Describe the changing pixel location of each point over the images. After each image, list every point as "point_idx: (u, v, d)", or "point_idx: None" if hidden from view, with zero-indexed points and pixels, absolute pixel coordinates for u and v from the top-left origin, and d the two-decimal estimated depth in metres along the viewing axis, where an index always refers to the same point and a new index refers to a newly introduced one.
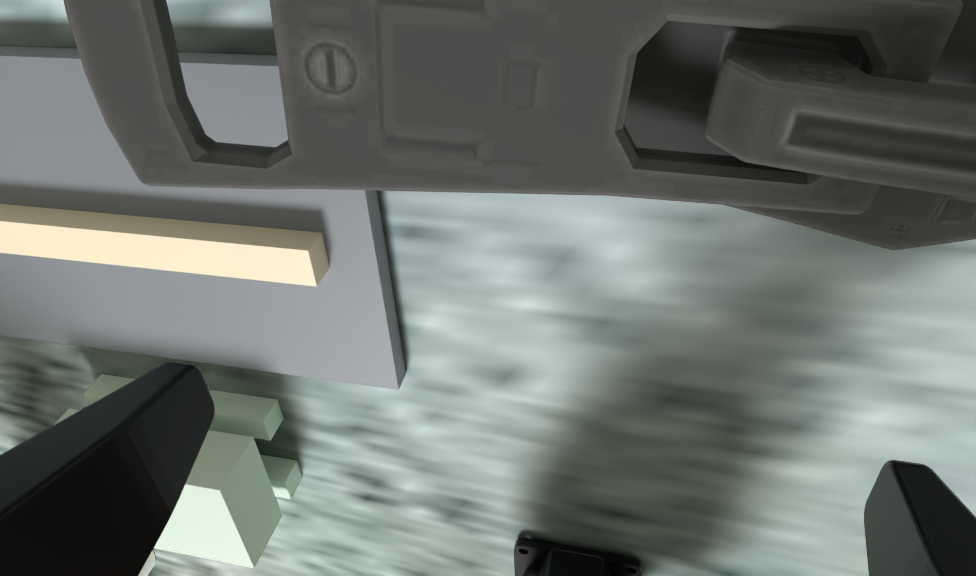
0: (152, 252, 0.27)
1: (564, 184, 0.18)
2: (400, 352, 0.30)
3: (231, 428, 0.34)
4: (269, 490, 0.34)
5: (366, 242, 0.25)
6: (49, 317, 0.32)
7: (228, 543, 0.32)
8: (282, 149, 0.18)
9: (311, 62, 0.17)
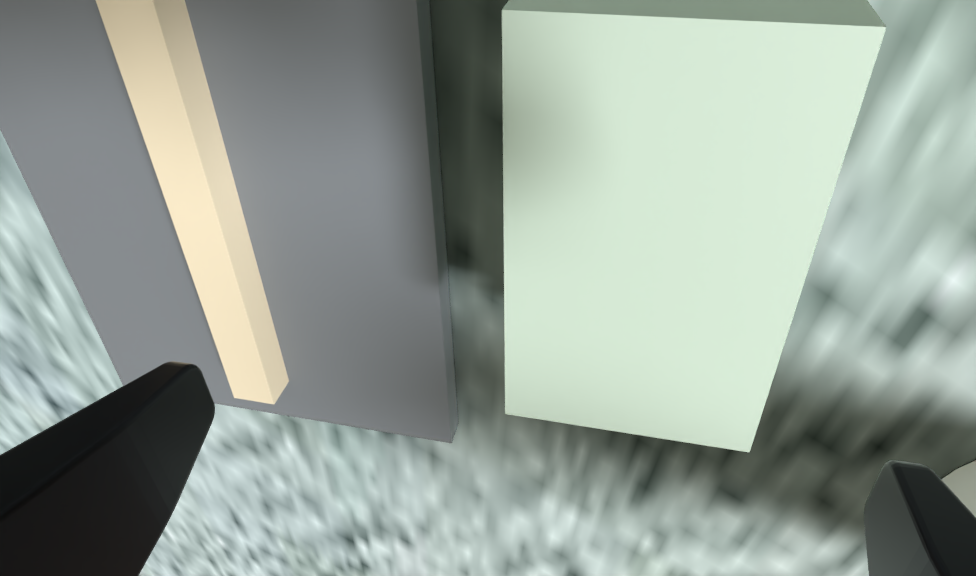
0: (131, 23, 0.17)
1: None
2: None
3: None
4: None
5: None
6: (389, 289, 0.22)
7: (752, 75, 0.11)
8: None
9: None
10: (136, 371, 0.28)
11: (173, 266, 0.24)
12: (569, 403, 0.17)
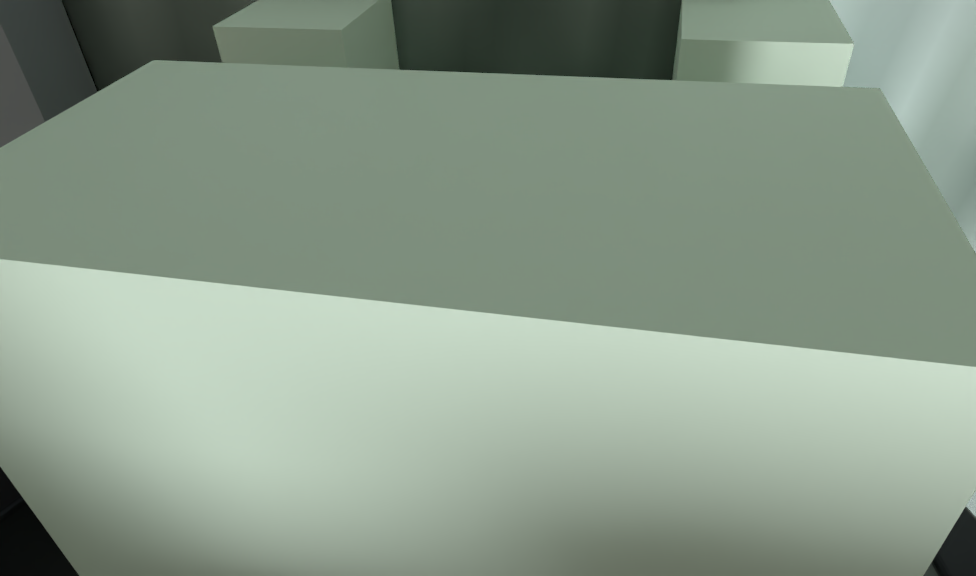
0: None
1: None
2: None
3: None
4: (555, 87, 0.05)
5: None
6: None
7: (580, 452, 0.04)
8: None
9: None
10: None
11: None
12: None
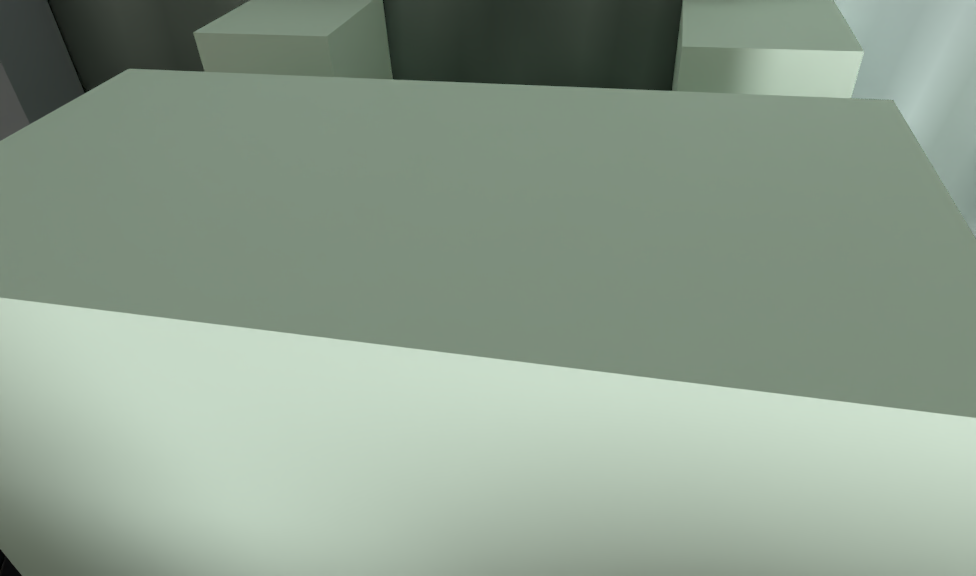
0: None
1: None
2: None
3: None
4: (549, 98, 0.05)
5: None
6: None
7: (574, 502, 0.03)
8: None
9: None
10: None
11: None
12: None
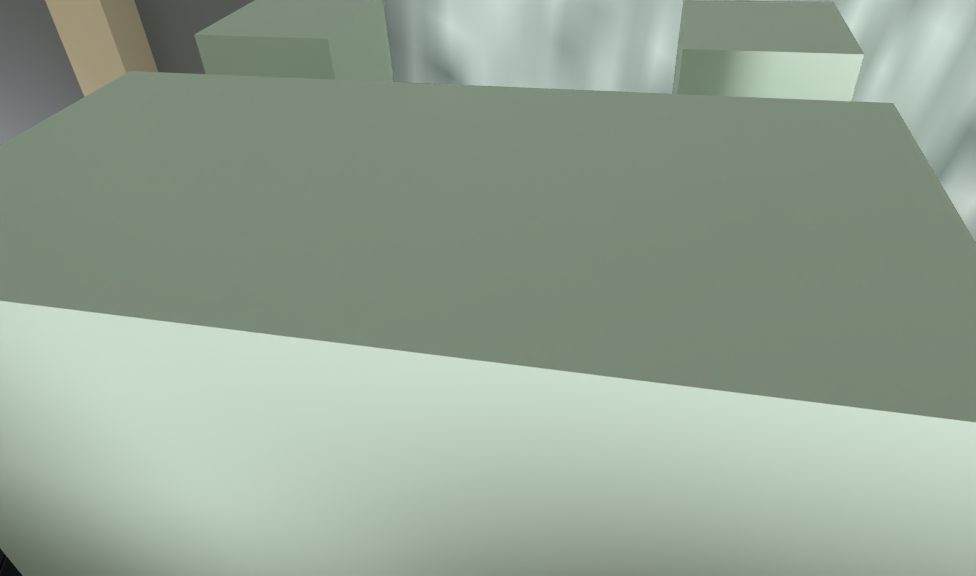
0: None
1: None
2: None
3: None
4: (550, 101, 0.05)
5: None
6: None
7: (576, 504, 0.03)
8: None
9: None
10: None
11: None
12: None
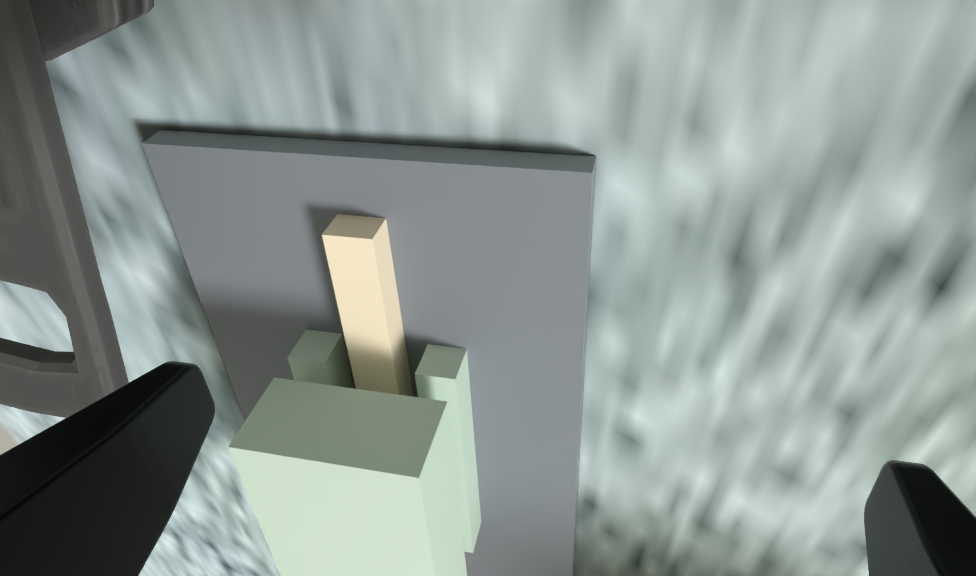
0: None
1: None
2: (545, 156, 0.20)
3: None
4: (375, 396, 0.22)
5: (335, 164, 0.20)
6: (534, 530, 0.29)
7: (364, 487, 0.20)
8: None
9: None
10: None
11: None
12: None
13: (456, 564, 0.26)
